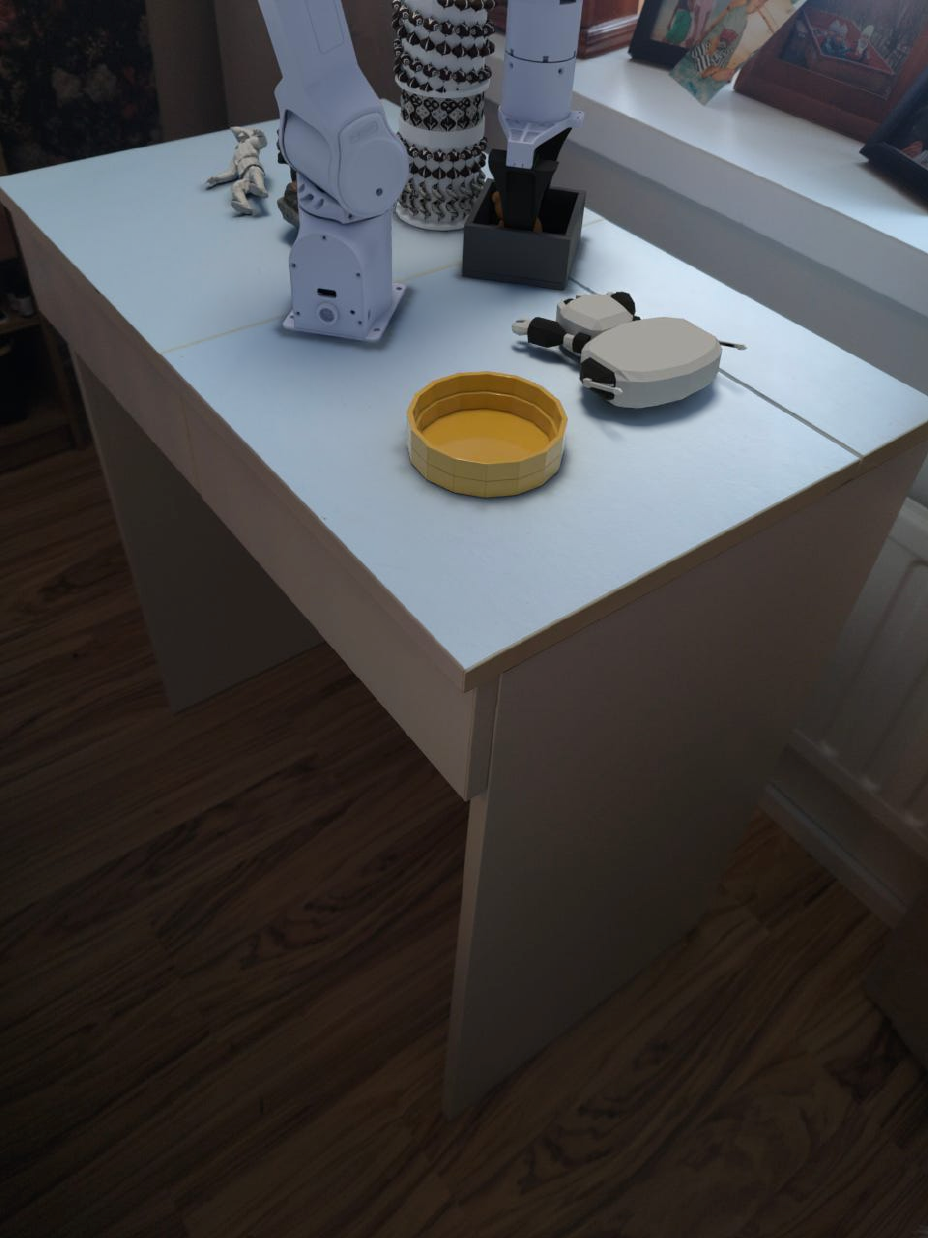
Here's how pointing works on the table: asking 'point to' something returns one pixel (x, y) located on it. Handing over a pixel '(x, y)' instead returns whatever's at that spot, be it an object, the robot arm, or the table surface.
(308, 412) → the table surface
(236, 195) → the soldier figure
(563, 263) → the bin
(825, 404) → the table surface
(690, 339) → the robot toy
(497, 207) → the teddy
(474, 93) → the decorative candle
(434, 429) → the bowl
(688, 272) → the table surface
